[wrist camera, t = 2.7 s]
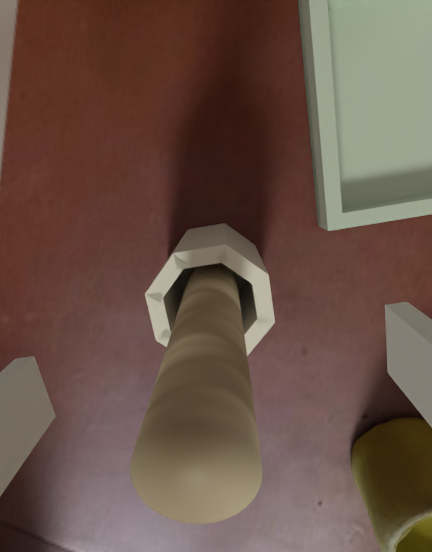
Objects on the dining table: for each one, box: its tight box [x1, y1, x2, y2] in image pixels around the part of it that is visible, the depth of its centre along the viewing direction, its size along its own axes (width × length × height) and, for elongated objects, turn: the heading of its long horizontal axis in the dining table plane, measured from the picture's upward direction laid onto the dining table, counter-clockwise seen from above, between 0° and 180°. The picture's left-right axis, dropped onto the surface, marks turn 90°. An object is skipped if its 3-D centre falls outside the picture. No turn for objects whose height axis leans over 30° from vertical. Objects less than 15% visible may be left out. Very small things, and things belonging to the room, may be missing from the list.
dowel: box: [130, 263, 263, 524], centre depth 17 cm, size 3×3×18 cm
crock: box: [145, 223, 275, 356], centre depth 23 cm, size 7×7×8 cm
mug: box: [351, 417, 432, 552], centre depth 28 cm, size 12×10×10 cm
